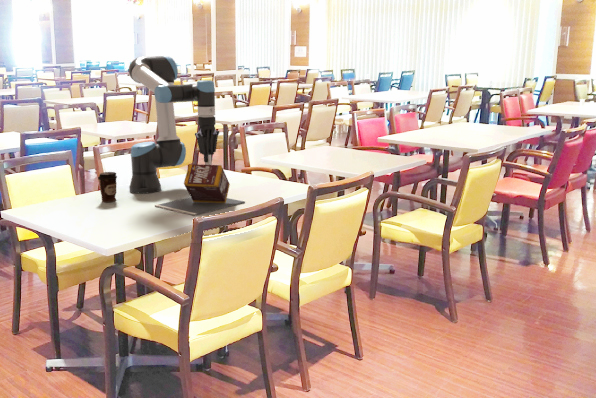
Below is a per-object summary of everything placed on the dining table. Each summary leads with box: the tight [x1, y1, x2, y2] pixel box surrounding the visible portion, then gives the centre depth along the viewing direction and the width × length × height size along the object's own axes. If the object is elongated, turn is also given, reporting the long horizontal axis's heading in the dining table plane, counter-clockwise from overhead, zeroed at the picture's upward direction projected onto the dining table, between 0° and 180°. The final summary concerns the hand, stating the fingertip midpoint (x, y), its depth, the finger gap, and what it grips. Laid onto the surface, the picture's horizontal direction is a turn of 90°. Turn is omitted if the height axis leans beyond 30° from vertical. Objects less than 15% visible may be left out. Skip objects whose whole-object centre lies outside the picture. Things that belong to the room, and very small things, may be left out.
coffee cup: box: [97, 171, 118, 203], centre depth 294 cm, size 9×8×13 cm
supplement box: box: [183, 163, 231, 203], centre depth 285 cm, size 10×15×16 cm
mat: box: [154, 196, 246, 217], centre depth 288 cm, size 26×30×1 cm
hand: (208, 168), depth 288 cm, fingers closed
